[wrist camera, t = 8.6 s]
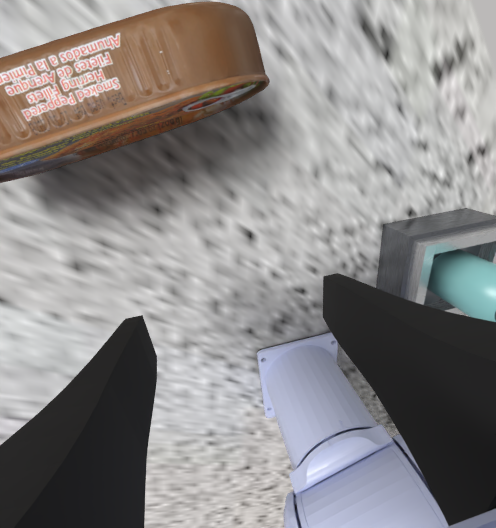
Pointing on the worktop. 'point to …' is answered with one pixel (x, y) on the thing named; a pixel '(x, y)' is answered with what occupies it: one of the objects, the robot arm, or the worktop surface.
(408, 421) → the robot arm
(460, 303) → the teal capped cylinder
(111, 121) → the tin
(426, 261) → the grey flat square block
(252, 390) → the worktop surface
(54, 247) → the worktop surface
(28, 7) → the worktop surface
